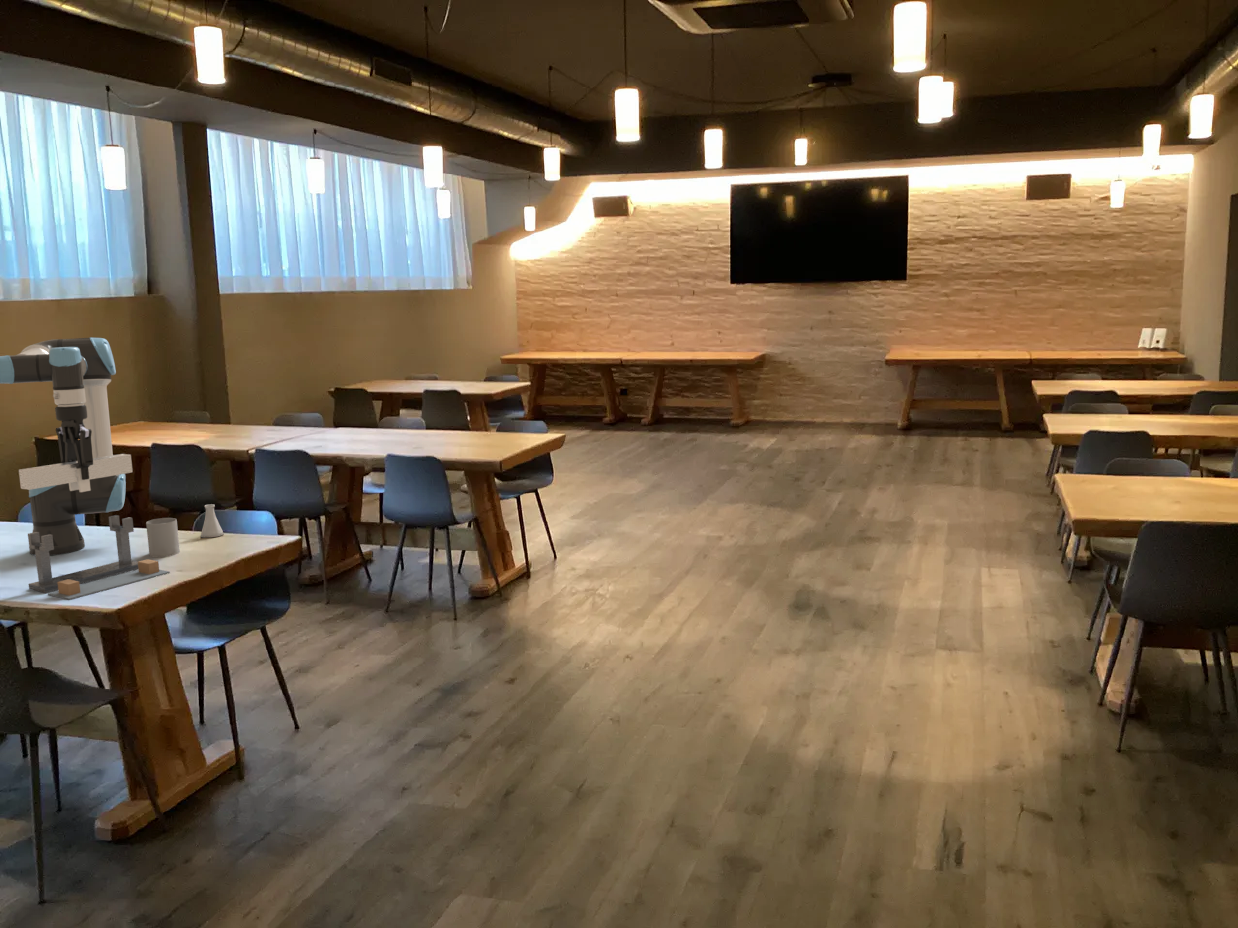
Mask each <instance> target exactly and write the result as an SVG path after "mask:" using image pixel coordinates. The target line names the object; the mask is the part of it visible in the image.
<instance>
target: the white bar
mask: <svg viewBox="0 0 1238 928" xmlns="http://www.w3.org/2000/svg"><path fill="white" fill-rule="evenodd" d="M77 466H78V461H77V460H76V461H73V462H66V463H61V462H60V463H53V464H49V465H48V464H47V465H41V466H36V467H35V466H34V467H27V468H22V469H20V468H19V469H18V474H19V475H18V476H19V483H20V484H19V485H20V489H21V490H28V491H29V490H31V489H37V488H43V487H49V486H54V485H60V484H66V483H72V482H78V474H77V468H76V467H77ZM88 470H89V480H90V479H96V478H102V477H108V476H114V475H120V474H125V475H126V474H130V473H133V462H132V454H129V453H128V454H126V453H120V454H113V455H112V456H105V457H99V458H93V465H90V466H89V467H88Z"/></svg>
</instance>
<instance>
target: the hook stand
mask: <svg viewBox="0 0 1238 928" xmlns="http://www.w3.org/2000/svg"><path fill="white" fill-rule="evenodd" d="M121 521H122V524H121V523H120V522H121ZM121 521H120V515H117V514H115V515H111V516H108V524H109V531H111V532H115V540H116V548H117V550H116V551H117V557H118V558H117V559H118V561H116V562H111V563H107V564H103V565H100V566H95V567H94V566H93V567H90V568H88V569H87V568H86V569H83V570H79V571H75V572H71V573H67V574H62V575H58V576H55V577H53V573H52V566H51V565H52V564H51V557H50V556H51V555H49V551H50V550H54V544H53V536H52V535H51V534H49V535H44V536H41V541H42V543H40V536H39V532H33V531H32V532H33V533H32V532H29V533H27V538H28V539H27V541H28V549H29V548H30V549H35V555H34V556H35V562H36V570H37V572H36V573H37V578H38V579H37V581H35V582H31V583H28V590H30V591H34V592H38V593H43V594H48V593H51V592H55V591H58V583H57V582H59V581H63V580H67V579H70V580H74V581H79V584H80V585H82V584H85V583H89V582H93V581H97V580H101V579H105V578H109V577H112V576H116V575H120V574H124V573H128V572H132V571H136V570H139V569H138V562H139V561H133V560H132V553H131V544H130V535H129V533H133V532H134V531H135V529H134V520H133V517H132V516H131V517H125V518H121Z"/></svg>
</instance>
